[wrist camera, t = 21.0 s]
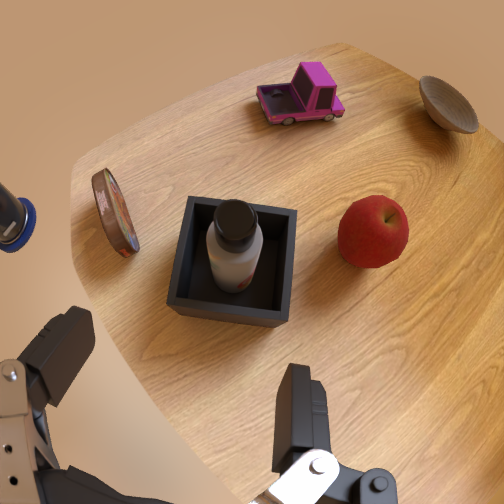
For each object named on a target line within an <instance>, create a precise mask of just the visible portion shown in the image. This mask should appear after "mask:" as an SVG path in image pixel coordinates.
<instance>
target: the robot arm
mask: <svg viewBox="0 0 504 504" xmlns="http://www.w3.org/2000/svg"><path fill="white" fill-rule="evenodd" d="M28 220H29V212H28V209H27V207H26V205H25V204H23V203H22V202H20V201H19V200H18V199H17V198H16V197H15V196H14V195H13V194H12V193H10V191H9V190H8V189H7V188H5V187H4V186H3V185H2V184H1V183H0V242H1V243H3V244H5V245H10V244H13V243H15V242H16V241H17V240H19V238H20V237H21V236H22V235H23V233H24V231H25V229H26V227H27V224H28ZM94 346H95V333H94V328H93V321H92V315H91V312H90V311H88V310H86V309H83V308H80V307H77V306H72V307H71V308H70V309H69V310H68V311H67V312H66V313H65V314H59V315H57V316H55V317H54V318H52V319H51V320H50V321H49V322H48V323H47V324H46V325H45V326H44V329H42V330H41V331H40V332H39V333H38V335H36V337H35V338H34V339H33V340H32V341H31V342H30V344H29V345H28V346H27V347H26V348H25V350H24V351H23V352H22V353H21V355H20V356H19V357H18V358H17V359H7V360H4V361H2V362H1V363H0V504H173V503H169V502H166V501H162V500H158V499H152V498H141V497H132V496H125V495H122V494H120V493H118V492H117V491H116V490H114V489H113V488H111V487H109V486H108V485H107V484H105V483H104V482H102V481H101V480H99V479H98V478H96V477H95V476H93V475H90V474H88V473H86V472H84V471H81V470H79V469H77V468H75V467H73V466H71V465H70V466H69V468H68V470H63V469H60V466H59V464H58V461H57V459H56V456H55V454H54V452H53V449H52V444H51V439H50V434H49V429H48V424H47V417H46V412H45V409H44V408H45V407H46V405H47V403H49V404H51V405H53V406H54V407H57V406H58V404H59V403H60V401H61V400H62V398H63V396H64V394H65V393H66V391H67V390H68V388H69V387H70V385H71V383H72V382H73V380H74V379H75V377H76V376H77V374H78V372H79V371H80V369H81V368H82V366H83V365H84V363H85V362H86V360H87V359H88V357H89V356H90V354H91V353H92V351H93V348H94ZM327 414H328V408H327V397H326V391H325V389H324V388H323V386H322V384H321V382H320V381H316V380H311V376H310V367H309V366H306V365H300V364H294V363H289V365H288V367H287V370H286V372H285V374H284V377H283V379H282V381H281V384H280V386H279V389H278V392H277V397H276V411H275V428H274V445H273V460H272V472H275V473H280V477H279V478H278V479H277V480H276V481H275V482H274V483H273V484H272V485H271V486H270V487H269V488H268V489H266V490H265V491H264V492H263V493H261V494H260V495H258V496H257V497H256V498H255V499H254V500H252V501H251V502H250V503H249V504H398V499H397V487H396V481H395V479H394V477H393V475H392V474H391V473H390V472H388V471H387V470H384V469H381V468H373V469H370V470H368V471H367V472H365V473H364V472H361V471H358V470H354V469H351V468H348V467H346V466H343V465H342V464H340V463H339V462H338V461H337V459H336V458H335V457H334V456H333V454H332V451H331V445H330V432H329V419H328V415H327Z"/></svg>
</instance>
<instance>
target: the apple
mask: <svg viewBox="0 0 504 504" xmlns="http://www.w3.org/2000/svg"><path fill="white" fill-rule="evenodd" d="M408 236H409V227H408V221H407V217H406V215H405V213H404V211H403V209H402V207H401V206H400V205H399V204H397V203H396V202H395V201H394V200H392V199H389V198H387V197H385V196H383V195H371V196H369V197H366V198H363V199H360V200H358V201H356V202H353V203H352V205H351V206H350V207H349V208H348V210H347V211H346V213H345V214H344V216H343V217H342V219H341V221H340V224H339V229H338V248H339V251H340V253H341V255H342V257H343V258H344V259H345V260H346V261H347V262H349V263H350V264H352V265H354V266H357V267H361V268H379V267H381V266H384V265H386V264H388V263H390V262H392V261H394V260H396V259H398V258H399V256H400V255H401V253H402V251H403V250H404V248H405V246H406V244H407V242H408Z"/></svg>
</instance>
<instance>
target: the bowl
mask: <svg viewBox="0 0 504 504" xmlns="http://www.w3.org/2000/svg"><path fill="white" fill-rule="evenodd" d="M419 89H420V94H421V97H422V100H423V103H424V106H425V108H426V111H427V113H428V114H429V116H430V117H431V118H432V119H433V120H434V121H435V122H436V123H437V124H438V125H439V126H441V127H442V128H444V129H446V130H450V131H455V132H459V133H463V134H472V133H475V132H476V131H477V130H478V127H479V123H478V119H477V116H476V113H475V112H474V109H473V108H472V106H471V105H470V103H469V102H468V101H467V99H466V98H465V97H464V96H463V95H462V94H461V93H459V92H458V91H457V90H456V89H455V88H453V87H452V86H451V85H449V84H448V83H446V82H444V81H443V80H440V79H438V78H435V77H432V76H423V77H422V78H421V79H420V81H419Z"/></svg>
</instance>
